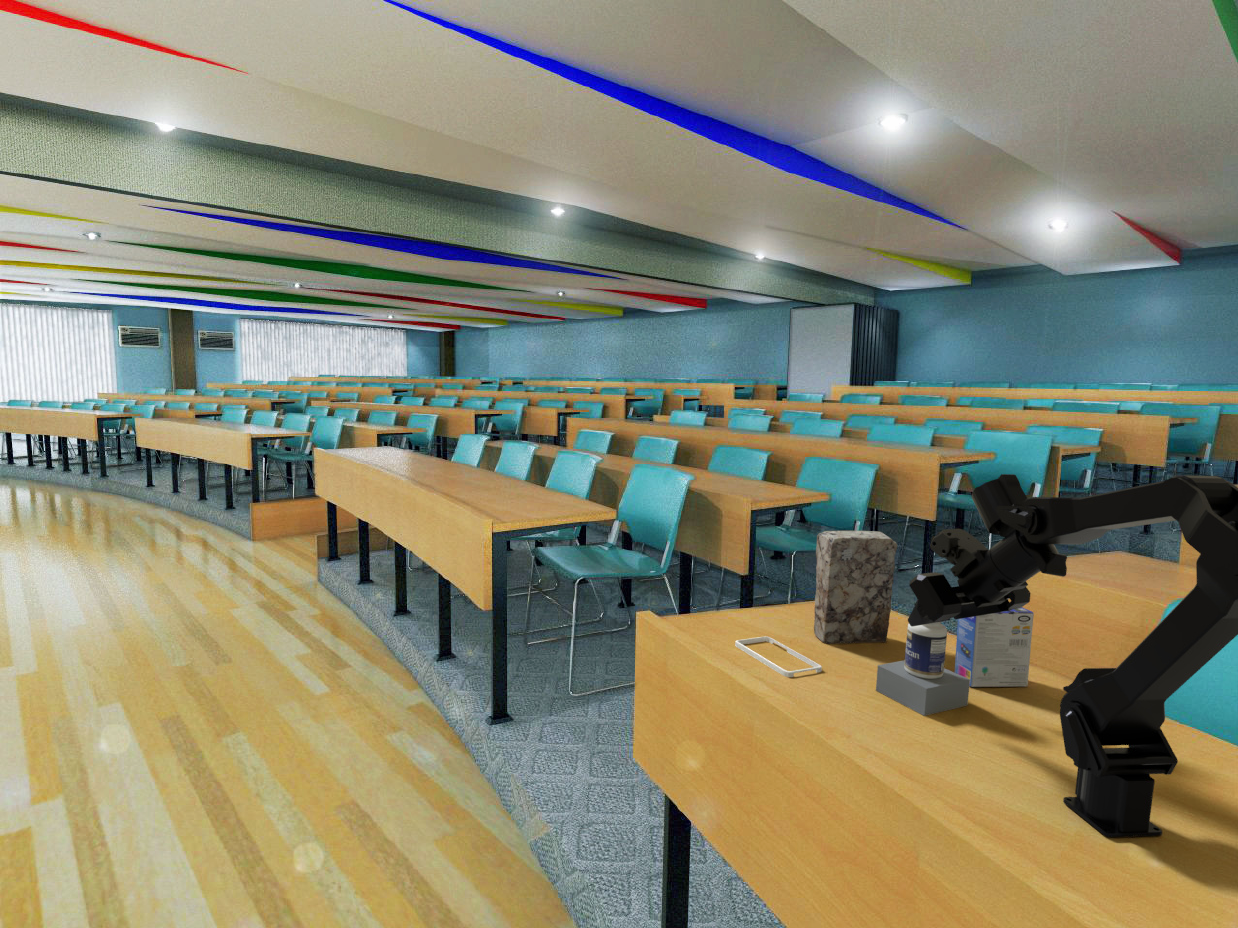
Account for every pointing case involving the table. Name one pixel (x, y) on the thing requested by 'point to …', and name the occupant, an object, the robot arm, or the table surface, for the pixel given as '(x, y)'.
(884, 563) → the stone block
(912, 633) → the pill bottle
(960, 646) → the ink cartridge box
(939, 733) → the table surface
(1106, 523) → the robot arm
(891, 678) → the slate block
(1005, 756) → the table surface
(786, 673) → the phone case
